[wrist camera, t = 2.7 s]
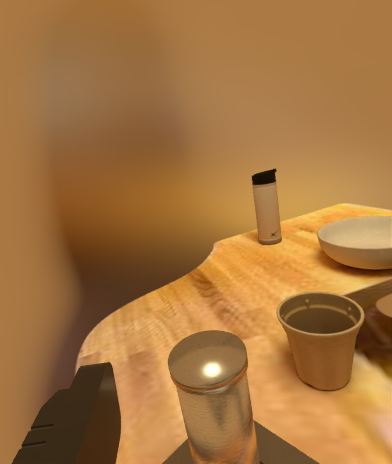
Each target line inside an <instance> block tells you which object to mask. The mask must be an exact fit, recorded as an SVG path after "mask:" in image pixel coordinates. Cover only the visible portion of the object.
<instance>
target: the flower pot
mask: <svg viewBox="0 0 392 464" xmlns="http://www.w3.org/2000/svg"><path fill="white" fill-rule="evenodd" d="M277 317H278V320H279V321H280V323H281V324H282V326H283V328H284V330H285V332H286V333H287V337H288V341H289V344H290V348H291V351H292V355H293V359H294V363H295V366H296V371H297V374H298V376H299V377H300V379H301V380H302V381H303V382H305V383H308V384H310V385H312V386H313V387H315V388H316V389H320V390H336V389H339V388H342V387H344V386H345V385H346V383H347V382H348V381H349V379H350V378H351V370H352V362H353V355H354V347H355V340H356V335H357V334H358V332H359V328H360V326H361V325H362V323H363V321H364V312H363V310H362V308H361V307H360V306H359V305H358V304H357V303H356V302H354V301H353V300H351V299H349V298H347V297H344V296H342V295H338V294H334V293H329V292H305V293H300V294H296V295H293V296H291V297H288V298H286V299H285V300H283V301H282V302H281V303H280V304H279V306H278V308H277Z"/></svg>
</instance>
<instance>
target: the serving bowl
mask: <svg viewBox="0 0 392 464" xmlns="http://www.w3.org/2000/svg"><path fill="white" fill-rule="evenodd" d="M317 236H318V240H319V243H320V246H321V248H322V249H323V251H324V252H325V253H326V254H327V255H328V256H329V257H331V258H332V259H333V260H335V261H337V262H339V263H341V264H344V265H347V266H351V267H356V268H362V269H391V268H392V216H365V217H355V218H348V219H343V220H339V221H335V222H332V223H329V224H327V225H325V226H323V227H322V228H320V229H319V231H318V233H317Z"/></svg>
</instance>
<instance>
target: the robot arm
mask: <svg viewBox="0 0 392 464" xmlns="http://www.w3.org/2000/svg"><path fill="white" fill-rule="evenodd" d="M120 434H121V414H120V407H119V402H118V396H117V390H116V384H115V379H114V373H113V368H112V365H111V363H110V362H107V363H100V364H93V365H85V366H81V367H80V368H79V369H78V371H77V373H76V376H75V378H74V380H73V382H72V385H71V387H70V389H64V390H58V392H56V393H55V395H53V396H52V397H51V398H50V399H49V400H48V402H47V403H45V405H44V406H43V407H42V408H41V409H40V411H39V413H38V415H37V417H36V419H35V421H34V423H33V425H32V426H31V431H29V432H28V434H27V436H26V438H25V440H24V442H23V444H22V448H21V449H20V450H19V451H18V453H17V455H16V457H15V459H14V460H13V463H12V464H115V463H116V458H117V452H118V447H119V441H120Z"/></svg>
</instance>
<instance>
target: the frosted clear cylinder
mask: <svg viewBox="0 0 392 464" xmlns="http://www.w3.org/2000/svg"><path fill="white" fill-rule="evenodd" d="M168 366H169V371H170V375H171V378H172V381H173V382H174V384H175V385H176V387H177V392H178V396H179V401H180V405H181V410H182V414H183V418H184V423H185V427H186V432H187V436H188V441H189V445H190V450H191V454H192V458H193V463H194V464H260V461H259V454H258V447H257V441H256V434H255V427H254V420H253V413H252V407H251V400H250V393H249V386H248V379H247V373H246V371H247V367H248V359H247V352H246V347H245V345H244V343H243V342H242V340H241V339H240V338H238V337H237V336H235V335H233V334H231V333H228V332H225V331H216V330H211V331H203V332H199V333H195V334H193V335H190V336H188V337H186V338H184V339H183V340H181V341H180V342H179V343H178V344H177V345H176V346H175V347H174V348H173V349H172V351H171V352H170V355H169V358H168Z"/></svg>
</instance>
